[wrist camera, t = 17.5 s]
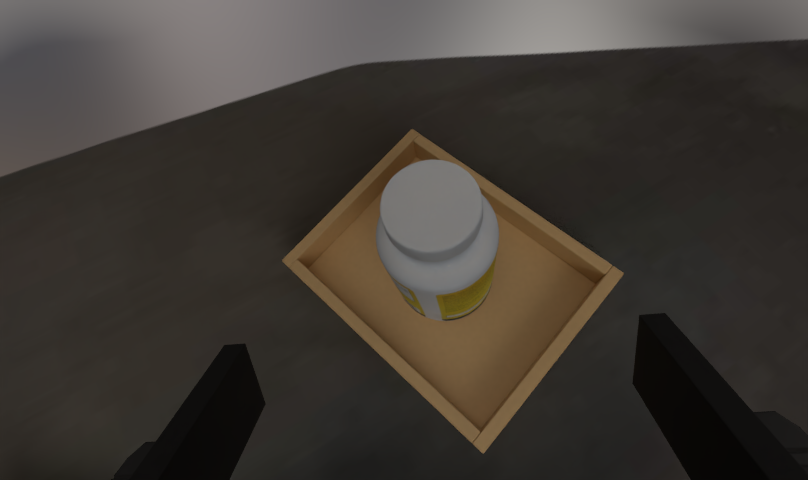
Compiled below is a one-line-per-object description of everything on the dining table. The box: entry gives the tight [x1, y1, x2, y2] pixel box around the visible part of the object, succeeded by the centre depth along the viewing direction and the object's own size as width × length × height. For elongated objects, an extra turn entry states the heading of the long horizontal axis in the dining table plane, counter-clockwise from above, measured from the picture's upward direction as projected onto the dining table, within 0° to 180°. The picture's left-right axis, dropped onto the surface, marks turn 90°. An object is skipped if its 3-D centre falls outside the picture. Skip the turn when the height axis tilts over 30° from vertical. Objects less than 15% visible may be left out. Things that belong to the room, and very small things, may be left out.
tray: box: [282, 129, 624, 453], centre depth 29 cm, size 18×14×3 cm
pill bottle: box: [376, 160, 499, 321], centre depth 24 cm, size 6×6×12 cm
